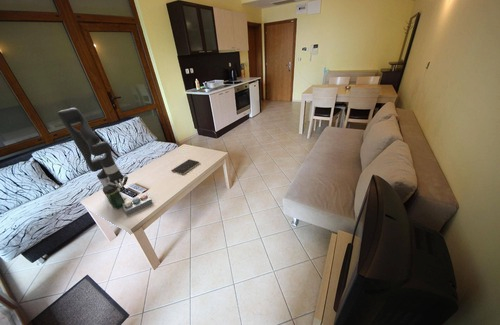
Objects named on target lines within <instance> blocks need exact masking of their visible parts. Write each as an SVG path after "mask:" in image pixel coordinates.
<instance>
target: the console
mask: <svg viewBox="0 0 500 325" xmlns="http://www.w3.org/2000/svg"><path fill="white" fill-rule="evenodd" d="M143 195H146V196H147V199H145V200H143V201H142V199H141V197H142V196H143ZM137 197H138V199H139V201H140V202H138V203H136V204H134V202H133V201H132V199H133V198H132V199H130V200H128V201H130V202H131V204H132V206H130V207H128V208H126V206H125V204H124V203H123V204H122V205H123V207H122V208H123V209H124V210H123V211H124V212H125V214H126V216H127V217H128V216H129V215H131V214H134V213H135V212H138V211H140V210H143V209H144V208H146V207H148V206H150V205H152V204H153V201H152V199H151V197H150V196H149V194H148V192H144V193H143V194H140V195H138V196H137Z"/></svg>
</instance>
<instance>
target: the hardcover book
mask: <svg viewBox="0 0 500 325" xmlns="http://www.w3.org/2000/svg"><path fill="white" fill-rule="evenodd" d="M199 164H200V161H198V160H192V159H190V158H189V159H187V160H185V161H184V162H182V163H180V164H179V165H177V166H176V167H174V168H172V169H171V172H173V173H175V174H179V175H182V176H184V175H185V174H187V172H189V171H191V170H192V169H193V168H195V167H196V166H198V165H199Z"/></svg>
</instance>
